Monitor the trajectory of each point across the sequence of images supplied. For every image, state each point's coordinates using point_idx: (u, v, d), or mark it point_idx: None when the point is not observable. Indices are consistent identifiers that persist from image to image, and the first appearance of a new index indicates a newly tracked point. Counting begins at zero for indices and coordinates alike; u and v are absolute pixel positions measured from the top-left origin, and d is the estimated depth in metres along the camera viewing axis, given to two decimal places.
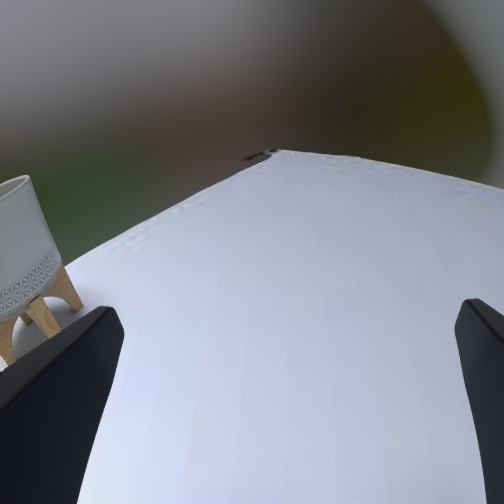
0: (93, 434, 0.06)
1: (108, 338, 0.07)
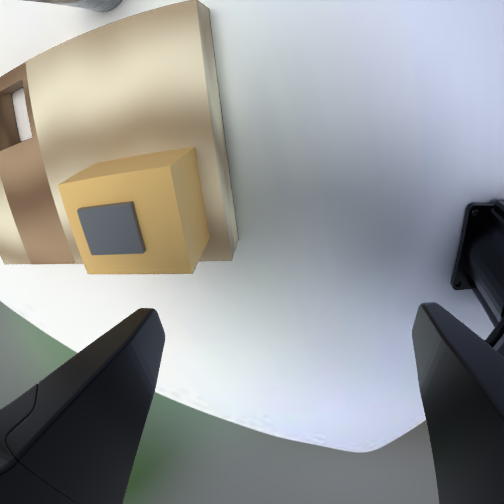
0: (136, 445, 0.06)
1: (151, 342, 0.07)
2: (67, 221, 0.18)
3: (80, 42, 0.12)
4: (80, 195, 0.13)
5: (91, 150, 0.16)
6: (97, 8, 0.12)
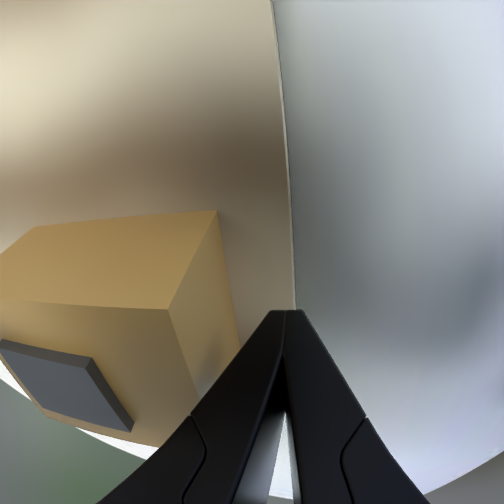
0: None
1: None
2: None
3: None
4: None
5: (38, 202, 0.08)
6: None
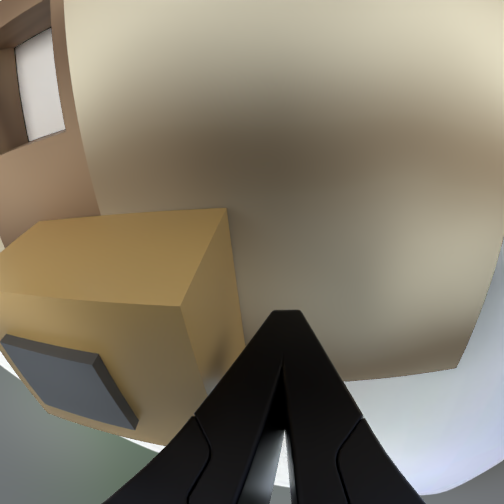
0: (277, 463, 0.06)
1: None
2: None
3: None
4: (0, 315, 0.05)
5: (245, 174, 0.07)
6: None
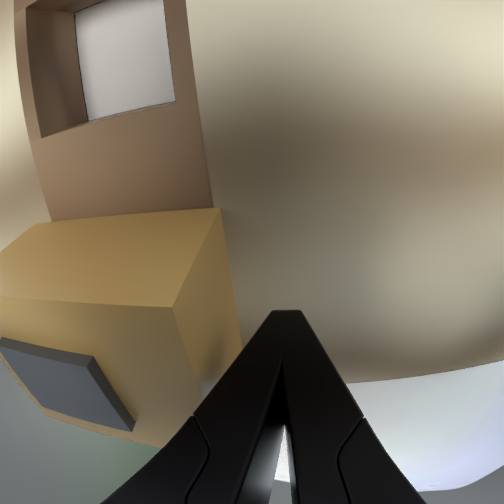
0: (276, 463, 0.06)
1: None
2: (255, 319, 0.09)
3: None
4: None
5: (389, 170, 0.06)
6: None
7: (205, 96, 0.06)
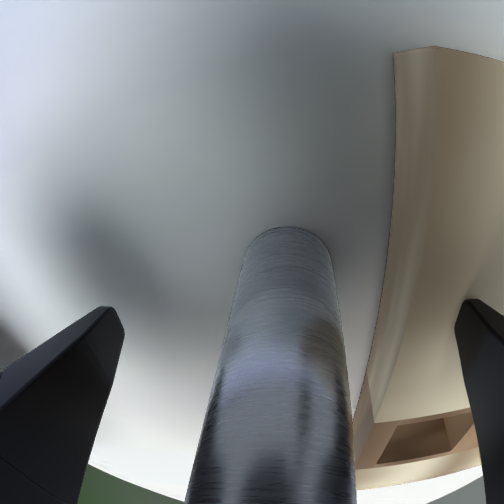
0: (94, 434, 0.06)
1: (108, 338, 0.07)
2: None
3: (419, 334, 0.07)
4: None
5: None
6: None
7: None
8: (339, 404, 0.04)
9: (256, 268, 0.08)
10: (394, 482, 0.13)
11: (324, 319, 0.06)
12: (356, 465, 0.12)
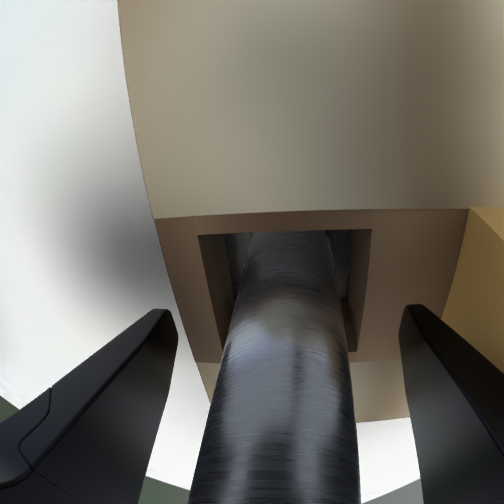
0: (150, 448, 0.06)
1: (165, 343, 0.07)
2: None
3: (138, 26, 0.05)
4: None
5: (448, 33, 0.04)
6: None
7: (371, 201, 0.07)
8: (338, 363, 0.05)
9: (261, 250, 0.08)
10: None
11: (324, 291, 0.07)
12: (191, 348, 0.10)
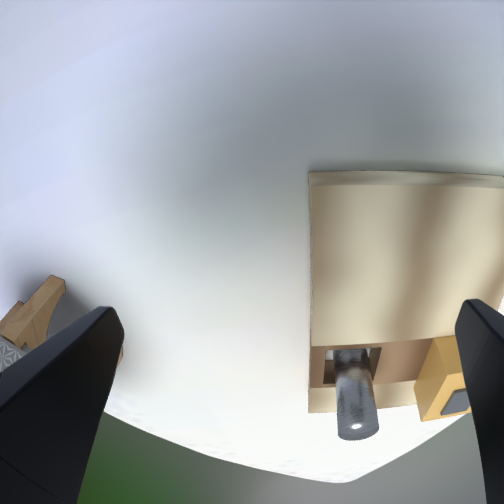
0: (94, 434, 0.06)
1: (108, 338, 0.07)
2: None
3: (320, 294, 0.19)
4: (434, 412, 0.19)
5: (418, 295, 0.18)
6: None
7: (382, 340, 0.20)
8: (371, 389, 0.19)
9: (343, 350, 0.22)
10: None
11: (366, 367, 0.20)
12: (310, 383, 0.23)
